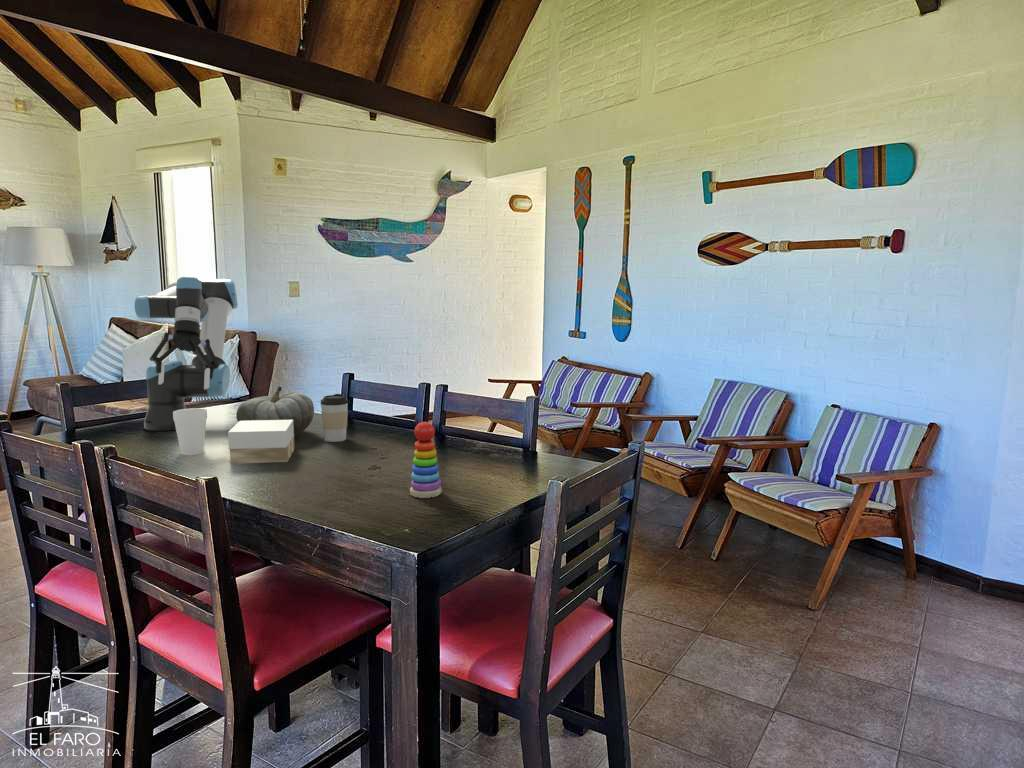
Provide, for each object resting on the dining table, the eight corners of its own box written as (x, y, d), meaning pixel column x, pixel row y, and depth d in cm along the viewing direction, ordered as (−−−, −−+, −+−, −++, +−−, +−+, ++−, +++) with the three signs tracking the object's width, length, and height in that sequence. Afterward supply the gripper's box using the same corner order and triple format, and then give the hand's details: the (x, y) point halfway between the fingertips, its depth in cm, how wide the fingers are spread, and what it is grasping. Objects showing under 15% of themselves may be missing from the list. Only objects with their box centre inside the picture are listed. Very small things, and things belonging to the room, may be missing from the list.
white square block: (240, 436, 214) (239, 420, 213) (293, 435, 217) (293, 419, 216) (228, 449, 199) (227, 432, 198) (286, 447, 201) (285, 430, 201)
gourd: (329, 430, 232) (317, 380, 229) (256, 452, 218) (242, 400, 215) (304, 424, 252) (293, 379, 250) (235, 445, 238) (222, 396, 236)
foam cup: (214, 452, 212) (212, 411, 210) (183, 458, 205) (180, 415, 203) (201, 447, 218) (198, 407, 216) (170, 452, 211) (168, 410, 209)
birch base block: (241, 451, 215) (240, 436, 215) (294, 450, 218) (294, 434, 217) (230, 465, 200) (229, 448, 199) (287, 463, 203) (287, 447, 202)
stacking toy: (410, 489, 177) (410, 418, 175) (442, 489, 178) (441, 418, 175) (409, 499, 170) (408, 425, 167) (441, 499, 170) (441, 425, 167)
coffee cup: (341, 443, 226) (340, 398, 224) (316, 441, 228) (315, 397, 225) (353, 437, 235) (352, 393, 232) (329, 435, 236) (327, 392, 234)
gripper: (148, 311, 212) (144, 377, 206) (230, 326, 228) (228, 387, 222) (141, 319, 217) (137, 384, 211) (222, 333, 233) (220, 393, 227)
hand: (184, 386), depth 217 cm, fingers open, 13 cm apart
